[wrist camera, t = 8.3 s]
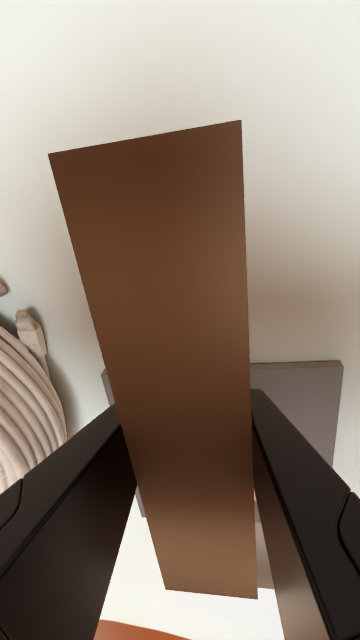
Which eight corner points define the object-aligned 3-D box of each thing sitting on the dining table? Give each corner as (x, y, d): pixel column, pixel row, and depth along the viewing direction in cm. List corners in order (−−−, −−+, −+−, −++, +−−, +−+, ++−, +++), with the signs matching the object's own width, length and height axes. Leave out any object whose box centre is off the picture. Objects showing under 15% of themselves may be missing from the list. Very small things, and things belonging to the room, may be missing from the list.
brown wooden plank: (74, 173, 7) (-17, 165, 4) (285, 138, 6) (331, 103, 4) (168, 557, 14) (154, 648, 11) (277, 567, 13) (292, 668, 10)
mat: (339, 360, 16) (343, 366, 16) (322, 519, 22) (325, 527, 21) (104, 369, 19) (100, 375, 18) (143, 509, 24) (141, 517, 24)
